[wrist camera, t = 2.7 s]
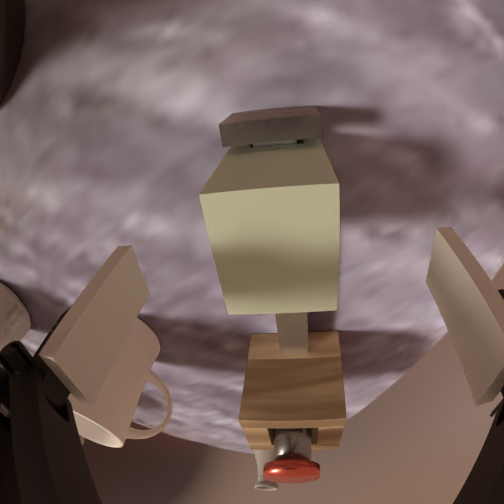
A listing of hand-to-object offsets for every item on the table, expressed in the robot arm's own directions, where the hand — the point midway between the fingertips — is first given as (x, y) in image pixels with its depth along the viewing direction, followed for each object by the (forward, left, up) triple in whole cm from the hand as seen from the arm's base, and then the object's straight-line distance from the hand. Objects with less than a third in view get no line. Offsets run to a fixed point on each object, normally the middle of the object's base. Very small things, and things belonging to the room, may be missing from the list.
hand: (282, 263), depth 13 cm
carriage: (0, 0, -9) cm, 9 cm away
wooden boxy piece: (+18, 0, -9) cm, 20 cm away
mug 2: (+16, -17, -9) cm, 25 cm away
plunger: (+18, 0, -3) cm, 18 cm away
